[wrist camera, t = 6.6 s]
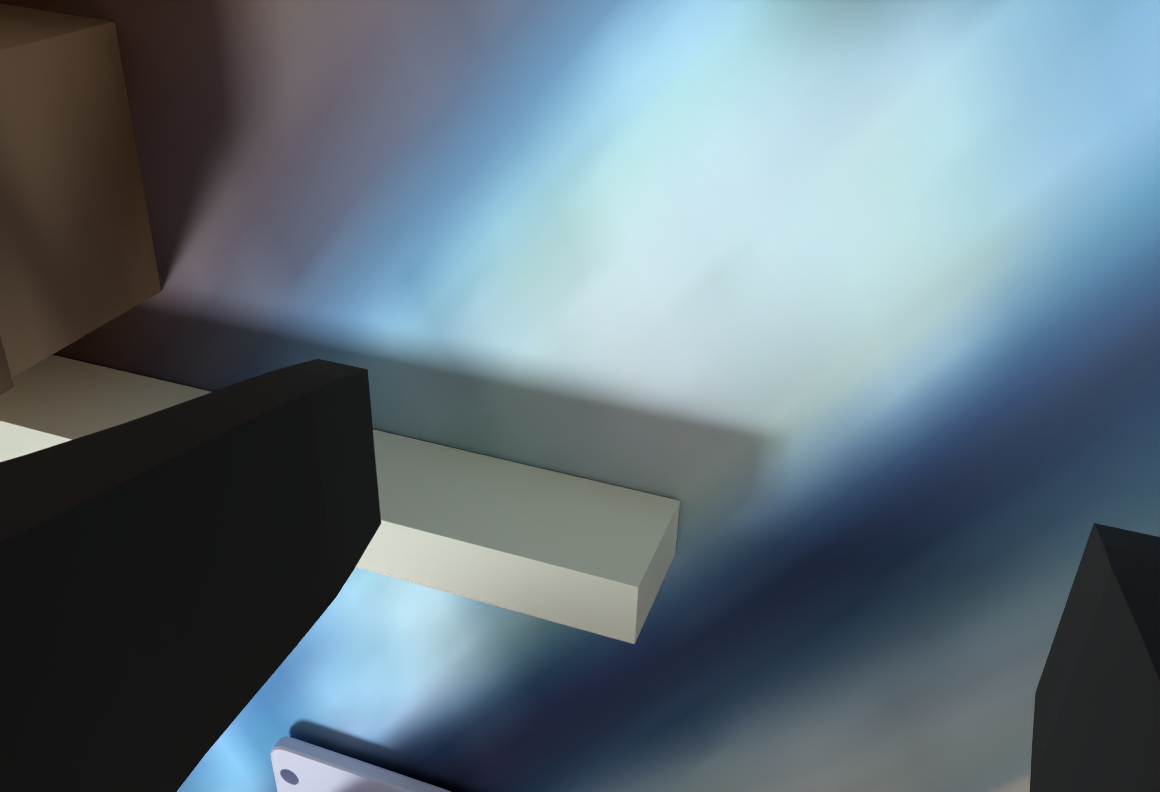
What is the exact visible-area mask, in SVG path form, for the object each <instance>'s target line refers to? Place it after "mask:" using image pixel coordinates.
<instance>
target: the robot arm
mask: <svg viewBox="0 0 1160 792" xmlns="http://www.w3.org/2000/svg"><path fill="white" fill-rule="evenodd" d="M380 525H381V515H380V504H379V493H378V482H377V471H376V460H375V449H374V437H373V426H372V415H371V404H370V393H369V382H368V371H367V369H363V368H358V367H353V366H349V365H344V364H339V363H334V362H330V361H325V360H320V359H317V360H312V361H308V362H304V363H300V364H296V365H292V366H289V367H285V368H282V369H279V370H276V371H272V372H269V373H266V374H263V375H260V376H257V377H254V378H251V379H248V380H245V381H242V382H240V383H237V384H234V385H231V386H228V387H225V388H222V389H220V390H217V391H214V392H211V393H208V394H205V395H203V396H200V397H197V398H194V399H191V400H189V401H186V402H183V403H180V404H177V405H174V406H172V407H169V408H166V409H163V410H160V411H157V412H155V413H152V414H149V415H146V416H143V417H140V418H138V419H135V420H132V421H129V422H126V423H123V424H120V425H117V426H114V427H111V428H108V429H104V430H101V431H98V432H95V433H92V434H89V435H86V436H83V437H80V438H76V439H73V440H70V441H67V442H64V443H61V444H58V445H55V446H51V447H48V448H45V449H42V450H39V451H36V452H33V453H30V454H27V455H23V456H20V457H16V458H13V459H9V460H6V461H2V462H0V792H177V790H178V789H179V788H180V786H181V785H182V784H183V782H184V781H185V780H186V779H187V777H188V776H189V775H190V773H191V772H192V771H193V770H194V768H195V767H196V766H197V764H198V763H199V762H200V760H201V759H202V758H203V757H204V755H205V754H206V753H207V752H208V750H209V749H210V748H211V747H212V746H213V744H214V743H215V742H216V741H217V740H218V738H219V737H220V736H221V735H222V734H223V732H224V731H225V730H226V729H227V728H228V727H229V725H230V724H231V723H232V722H233V721H234V719H235V718H236V717H237V716H238V715H239V713H240V712H241V711H242V710H243V709H244V708H245V706H246V705H247V704H248V703H249V702H250V700H251V699H252V698H253V697H254V696H255V694H256V693H257V692H258V691H259V690H260V688H261V687H262V686H263V685H264V684H265V683H266V681H267V680H268V679H269V678H270V677H271V675H272V674H273V673H274V672H275V671H276V669H277V668H278V667H279V666H280V665H281V664H282V662H283V661H284V660H285V659H286V658H287V656H288V655H289V654H290V653H291V652H292V650H293V649H294V648H295V647H296V646H297V644H298V643H299V642H300V641H301V639H302V638H303V637H304V636H305V635H306V633H307V632H308V631H309V630H310V629H311V627H312V626H313V625H314V624H315V622H316V621H317V620H318V619H319V618H320V616H321V615H322V614H323V613H324V611H325V610H326V609H327V608H328V606H329V605H330V604H331V603H332V601H333V600H334V599H335V598H336V596H337V595H338V593H339V592H340V590H341V589H342V587H343V585H344V584H345V582H346V581H347V579H348V578H349V576H350V575H351V573H352V571H353V570H354V568H355V567H356V565H357V564H358V562H359V560H360V559H361V557H362V555H363V554H364V552H365V550H366V548H367V547H368V545H369V543H370V542H371V540H372V538H373V537H374V535H375V533H376V531H377V530H378V528H379V526H380ZM271 760H272V765H273V770H274V775H275V781H276V786H277V791H278V792H452V791H449V790H446V789H443V788H440V787H437V786H434V785H431V784H428V783H425V782H422V781H419V780H416V779H413V778H410V777H407V776H404V775H401V774H398V773H396V772H393V771H390V770H387V769H384V768H381V767H378V766H375V765H372V764H369V763H366V762H363V761H360V760H357V759H354V758H351V757H348V756H345V755H342V754H339V753H336V752H334V751H331V750H328V749H325V748H322V747H319V746H316V745H313V744H310V743H307V742H304V741H301V740H298V739H295V738H291V737H284V738H281V739H280V740H279V741H278V742H277V743H276V745H275V746H274V747H273V749H272V750H271ZM1030 792H1160V537H1156V536H1152V535H1147V534H1142V533H1137V532H1133V531H1128V530H1123V529H1119V528H1114V527H1109V526H1104V525H1100V524H1095V523H1094V525H1093V527H1092V530H1091V533H1090V536H1089V539H1088V542H1087V545H1086V548H1085V551H1084V554H1083V556H1082V559H1081V562H1080V565H1079V568H1078V571H1077V574H1076V577H1075V580H1074V583H1073V586H1072V588H1071V591H1070V594H1069V597H1068V600H1067V603H1066V606H1065V609H1064V612H1063V615H1062V618H1061V620H1060V623H1059V626H1058V629H1057V632H1056V635H1055V638H1054V641H1053V644H1052V647H1051V649H1050V652H1049V655H1048V658H1047V661H1046V664H1045V667H1044V670H1043V673H1042V676H1041V679H1040V681H1039V684H1038V687H1037V690H1036V695H1035V710H1034V725H1033V741H1032V759H1031V779H1030Z"/></svg>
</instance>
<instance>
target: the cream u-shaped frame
mask: <svg viewBox="0 0 1160 792" xmlns="http://www.w3.org/2000/svg"><path fill="white" fill-rule="evenodd" d="M12 381H13V385H14V387H13V388H11V389H10V390H8V391H6V392H5V393H3V394H1V395H0V462H2V461H6V460H9V459H13V458H16V457H20V456H23V455H27V454H30V453H33V452H36V451H39V450H42V449H45V448H48V447H51V446H55V445H58V444H61V443H64V442H67V441H70V440H73V439H76V438H80V437H83V436H86V435H89V434H92V433H95V432H98V431H101V430H104V429H108V428H111V427H114V426H117V425H120V424H123V423H126V422H129V421H132V420H135V419H138V418H140V417H143V416H146V415H149V414H152V413H155V412H157V411H160V410H163V409H166V408H169V407H172V406H174V405H177V404H180V403H183V402H186V401H189V400H191V399H194V398H197V397H200V396H203V395H205V394H208V393H211V392H210V391H206V390H202V389H197V388H193V387H189V386H184V385H180V384H176V383H172V382H167V381H163V380H159V379H154V378H150V377H146V376H141V375H137V374H133V373H129V372H124V371H120V370H116V369H111V368H107V367H103V366H98V365H94V364H90V363H86V362H81V361H77V360H73V359H68V358H64V357H60V356H55V355H51V356H49V357H47V358H46V359H44V360H42V361H40V362H39V363H37V364H35V365H33V366H32V367H30V368H28V369H27V370H25V371H23V372H21V373H20V374H18V375H16V376H15V377H13V378H12ZM373 437H374V449H375V460H376V471H377V482H378V493H379V504H380V515H381V525H380V526H379V528H378V530H377V531H376V533H375V535H374V537H373V538H372V540H371V542H370V543H369V545H368V547H367V548H366V550H365V552H364V554H363V555H362V557H361V559H360V560H359V562H358V564H357V565H356V567H358V568H361V569H365V570H369V571H372V572H376V573H379V574H383V575H387V576H390V577H394V578H397V579H401V580H405V581H408V582H412V583H416V584H419V585H423V586H426V587H430V588H434V589H437V590H441V591H444V592H448V593H452V594H455V595H459V596H462V597H466V598H470V599H473V600H477V601H480V602H484V603H488V604H491V605H495V606H498V607H502V608H506V609H509V610H513V611H516V612H520V613H524V614H527V615H531V616H534V617H538V618H542V619H545V620H549V621H552V622H556V623H560V624H563V625H567V626H570V627H574V628H578V629H581V630H585V631H588V632H592V633H596V634H599V635H603V636H606V637H610V638H614V639H617V640H621V641H624V642H628V643H632V644H635V642H636V640H637V638H638V636H639V633H640V631H641V629H642V627H643V625H644V622H645V620H646V618H647V616H648V614H649V611H650V609H651V607H652V605H653V603H654V600H655V598H656V596H657V594H658V592H659V589H660V587H661V585H662V583H663V581H664V578H665V576H666V574H667V572H668V570H669V568H670V565H671V563H672V561H673V559H674V557H675V553H676V541H677V530H678V519H679V507H680V501H679V500H675V499H670V498H666V497H662V496H657V495H653V494H649V493H644V492H640V491H636V490H632V489H627V488H623V487H619V486H614V485H610V484H606V483H601V482H597V481H593V480H589V479H584V478H580V477H576V476H571V475H567V474H563V473H558V472H554V471H550V470H546V469H541V468H537V467H533V466H528V465H524V464H520V463H515V462H511V461H507V460H503V459H498V458H494V457H490V456H485V455H481V454H477V453H472V452H468V451H464V450H460V449H455V448H451V447H447V446H442V445H438V444H434V443H429V442H425V441H421V440H417V439H412V438H408V437H404V436H399V435H395V434H391V433H386V432H382V431H378V430H374V429H373Z"/></svg>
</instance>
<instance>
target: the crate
mask: <svg viewBox="0 0 1160 792" xmlns="http://www.w3.org/2000/svg"><path fill="white" fill-rule="evenodd" d="M159 292H161V286H160V280H159V274H158V269H157V263H156V257H155V251H154V246H153V240H152V234H151V228H150V223H149V217H148V211H147V205H146V199H145V194H144V188H143V182H142V176H141V171H140V165H139V159H138V153H137V147H136V142H135V136H134V130H133V124H132V119H131V113H130V107H129V101H128V96H127V90H126V84H125V78H124V72H123V67H122V61H121V55H120V49H119V44H118V38H117V32H116V26H115V21H108V20H102V19H96V18H89V17H83V16H77V15H70V14H64V13H58V12H51V11H45V10H38V9H32V8H26V7H19V6H13V5H7V4H0V395H1V394H3V393H5V392H6V391H8V390H10V389H11V388H13V387H14V385H13V381H12V378H13V377H15V376H16V375H18V374H20V373H21V372H23V371H25V370H27V369H28V368H30V367H32V366H33V365H35V364H37V363H39V362H40V361H42V360H44V359H46V358H47V357H49V356H51V355H52V354H54V353H56V352H58V351H59V350H61V349H63V348H64V347H66V346H68V345H70V344H71V343H73V342H75V341H77V340H78V339H80V338H82V337H83V336H85V335H87V334H89V333H90V332H92V331H94V330H95V329H97V328H99V327H101V326H102V325H104V324H106V323H107V322H109V321H111V320H113V319H114V318H116V317H118V316H120V315H121V314H123V313H125V312H126V311H128V310H130V309H132V308H133V307H135V306H137V305H138V304H140V303H142V302H144V301H145V300H147V299H149V298H151V297H152V296H154V295H156V294H157V293H159Z"/></svg>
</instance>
